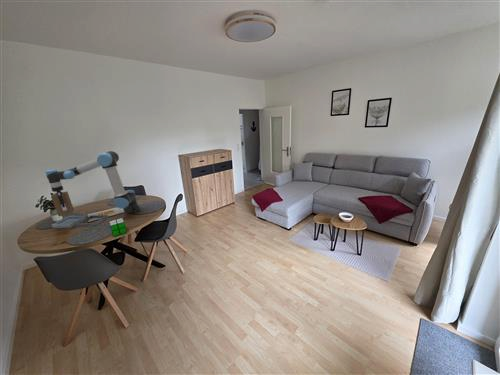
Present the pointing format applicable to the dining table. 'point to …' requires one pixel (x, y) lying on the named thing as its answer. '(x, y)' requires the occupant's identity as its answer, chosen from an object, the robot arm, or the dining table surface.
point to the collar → (92, 223)
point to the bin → (68, 222)
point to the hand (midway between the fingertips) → (64, 208)
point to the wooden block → (66, 201)
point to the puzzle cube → (118, 227)
